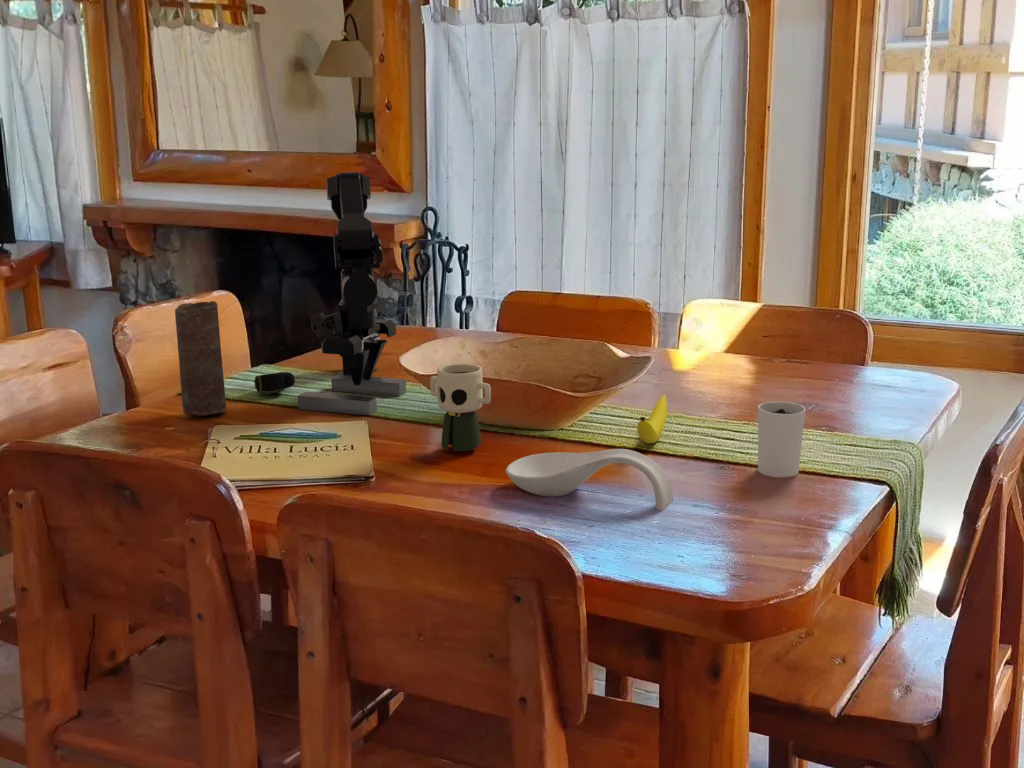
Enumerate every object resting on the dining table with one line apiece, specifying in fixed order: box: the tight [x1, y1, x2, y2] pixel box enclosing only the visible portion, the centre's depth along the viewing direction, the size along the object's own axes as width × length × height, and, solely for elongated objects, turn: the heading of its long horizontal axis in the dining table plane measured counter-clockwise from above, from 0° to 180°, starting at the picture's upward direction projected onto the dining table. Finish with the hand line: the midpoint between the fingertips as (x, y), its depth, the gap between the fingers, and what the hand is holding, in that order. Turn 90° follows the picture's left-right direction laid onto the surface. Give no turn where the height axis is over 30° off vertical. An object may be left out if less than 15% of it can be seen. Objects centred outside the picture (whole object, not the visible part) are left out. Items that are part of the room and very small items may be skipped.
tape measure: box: [253, 371, 296, 395], centre depth 203 cm, size 7×7×4 cm
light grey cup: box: [757, 401, 806, 478], centre depth 157 cm, size 7×7×10 cm
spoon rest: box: [505, 448, 674, 512], centre depth 150 cm, size 24×12×7 cm, turn 64°
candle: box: [174, 300, 227, 417], centre depth 188 cm, size 8×7×20 cm
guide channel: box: [297, 375, 407, 416], centre depth 199 cm, size 16×14×2 cm
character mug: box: [429, 363, 492, 452], centre depth 169 cm, size 11×7×13 cm, turn 61°
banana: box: [636, 394, 668, 445], centre depth 174 cm, size 3×19×6 cm, turn 162°
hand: (362, 382), depth 197 cm, fingers open, 4 cm apart
